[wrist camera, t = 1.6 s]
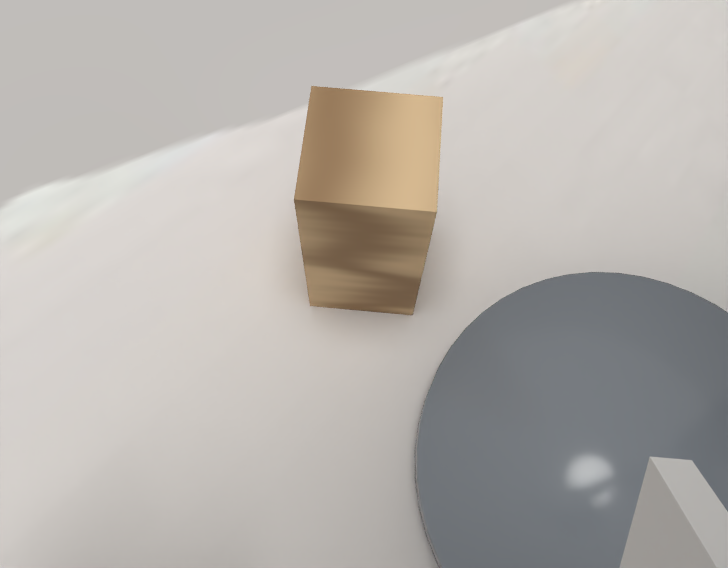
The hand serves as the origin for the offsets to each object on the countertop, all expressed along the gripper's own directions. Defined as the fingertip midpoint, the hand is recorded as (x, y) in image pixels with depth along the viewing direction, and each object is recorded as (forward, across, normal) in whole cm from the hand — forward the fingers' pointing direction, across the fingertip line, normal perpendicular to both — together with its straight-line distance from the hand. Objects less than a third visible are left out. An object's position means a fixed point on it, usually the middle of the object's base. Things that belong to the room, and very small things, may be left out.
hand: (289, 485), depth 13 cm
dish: (+15, +13, -9) cm, 22 cm away
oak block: (+21, +1, -3) cm, 21 cm away
